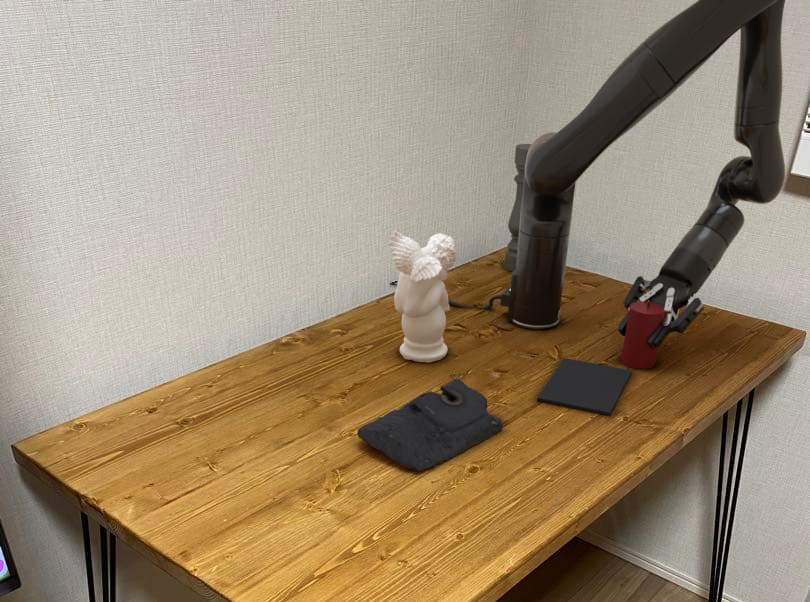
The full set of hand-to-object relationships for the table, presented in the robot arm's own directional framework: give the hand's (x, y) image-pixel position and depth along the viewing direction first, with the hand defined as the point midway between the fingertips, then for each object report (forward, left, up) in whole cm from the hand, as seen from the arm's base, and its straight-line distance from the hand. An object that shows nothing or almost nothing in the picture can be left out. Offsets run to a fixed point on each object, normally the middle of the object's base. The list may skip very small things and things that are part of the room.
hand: (635, 339), depth 153 cm
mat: (-5, -13, -4) cm, 14 cm away
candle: (+1, +1, -4) cm, 5 cm away
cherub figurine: (-34, -14, -5) cm, 37 cm away
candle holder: (-33, +39, -5) cm, 52 cm away
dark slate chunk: (-23, -39, -5) cm, 45 cm away
